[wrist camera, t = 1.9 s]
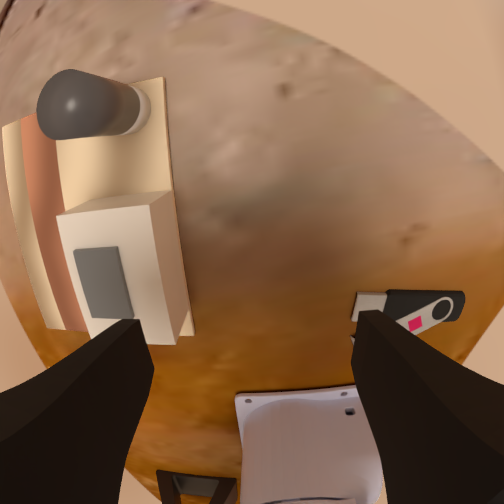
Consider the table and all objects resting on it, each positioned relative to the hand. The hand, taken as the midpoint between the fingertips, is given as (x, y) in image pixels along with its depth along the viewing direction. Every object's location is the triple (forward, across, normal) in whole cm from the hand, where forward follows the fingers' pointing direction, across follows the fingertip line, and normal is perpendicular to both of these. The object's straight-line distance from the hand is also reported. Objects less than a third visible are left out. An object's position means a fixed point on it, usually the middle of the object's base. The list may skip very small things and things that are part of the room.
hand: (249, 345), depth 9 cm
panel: (+8, +10, -2) cm, 13 cm away
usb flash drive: (+9, -10, +6) cm, 15 cm away
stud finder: (+8, +6, 0) cm, 10 cm away
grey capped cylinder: (+8, +6, -8) cm, 13 cm away
